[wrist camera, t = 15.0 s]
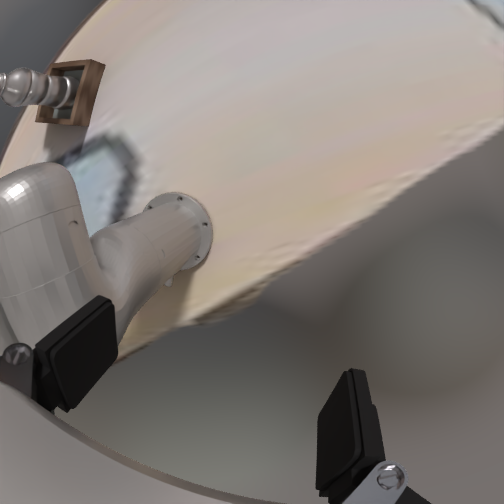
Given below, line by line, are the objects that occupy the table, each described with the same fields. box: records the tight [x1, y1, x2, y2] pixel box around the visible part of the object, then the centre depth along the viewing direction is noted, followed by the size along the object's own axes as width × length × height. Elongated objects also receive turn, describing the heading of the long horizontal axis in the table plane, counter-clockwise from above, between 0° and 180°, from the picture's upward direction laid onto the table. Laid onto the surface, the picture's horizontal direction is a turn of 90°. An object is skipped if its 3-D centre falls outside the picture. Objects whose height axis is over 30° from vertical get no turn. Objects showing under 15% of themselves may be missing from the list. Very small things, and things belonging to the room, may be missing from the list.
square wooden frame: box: [35, 59, 105, 126], centre depth 37 cm, size 12×12×4 cm
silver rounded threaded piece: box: [0, 68, 80, 110], centre depth 29 cm, size 6×7×20 cm
